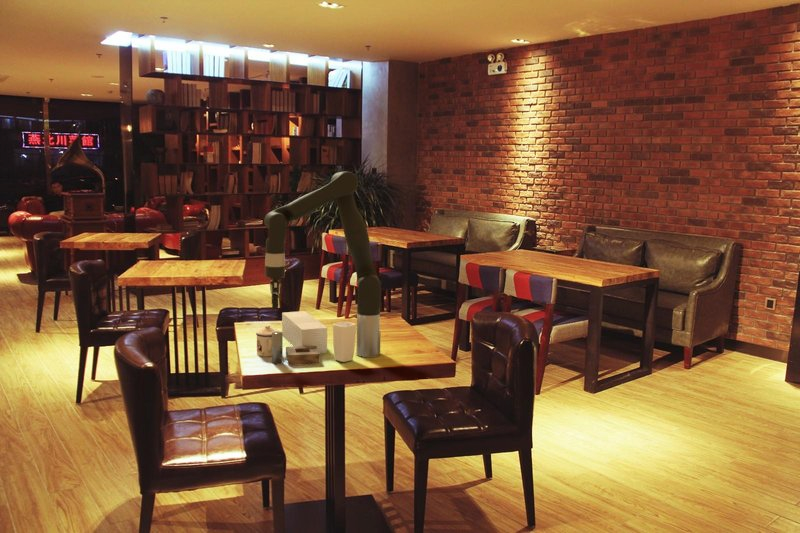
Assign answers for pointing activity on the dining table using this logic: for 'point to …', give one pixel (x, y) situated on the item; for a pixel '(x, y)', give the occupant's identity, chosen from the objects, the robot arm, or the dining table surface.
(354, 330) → the cup
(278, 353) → the metal pin
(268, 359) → the dining table surface
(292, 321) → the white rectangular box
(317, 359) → the socket block
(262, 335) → the teacup with lid
